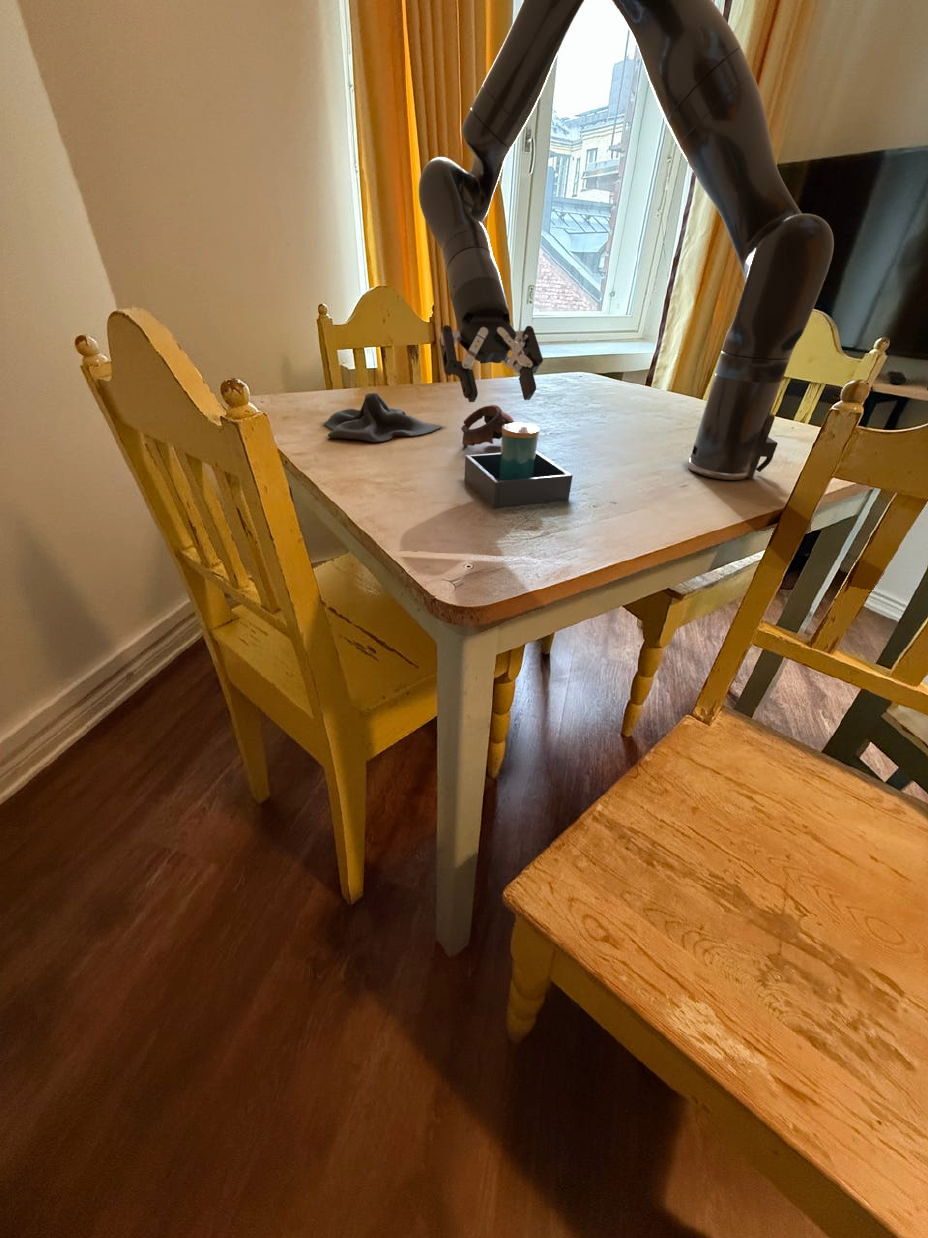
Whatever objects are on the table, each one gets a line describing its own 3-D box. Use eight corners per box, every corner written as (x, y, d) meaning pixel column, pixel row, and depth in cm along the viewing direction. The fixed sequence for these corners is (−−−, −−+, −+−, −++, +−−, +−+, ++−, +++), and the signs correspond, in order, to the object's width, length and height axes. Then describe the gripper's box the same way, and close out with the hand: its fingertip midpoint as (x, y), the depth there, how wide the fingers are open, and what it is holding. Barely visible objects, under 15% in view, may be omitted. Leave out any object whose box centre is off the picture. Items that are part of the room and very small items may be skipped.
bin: (532, 475, 80) (535, 449, 78) (568, 503, 71) (572, 475, 69) (464, 482, 76) (465, 455, 74) (493, 512, 68) (495, 482, 66)
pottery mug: (525, 463, 86) (506, 420, 81) (473, 481, 90) (452, 442, 84) (525, 425, 94) (507, 384, 88) (478, 444, 97) (458, 405, 92)
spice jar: (531, 483, 76) (538, 423, 71) (533, 496, 72) (541, 433, 67) (496, 482, 76) (501, 421, 71) (497, 494, 72) (502, 431, 67)
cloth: (334, 447, 88) (330, 408, 84) (312, 419, 101) (307, 385, 98) (454, 435, 96) (455, 400, 92) (418, 411, 110) (418, 380, 106)
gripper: (435, 272, 69) (461, 382, 67) (531, 275, 73) (559, 379, 71) (424, 314, 76) (447, 415, 74) (513, 315, 80) (537, 410, 78)
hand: (502, 397), depth 73 cm, fingers open, 8 cm apart
